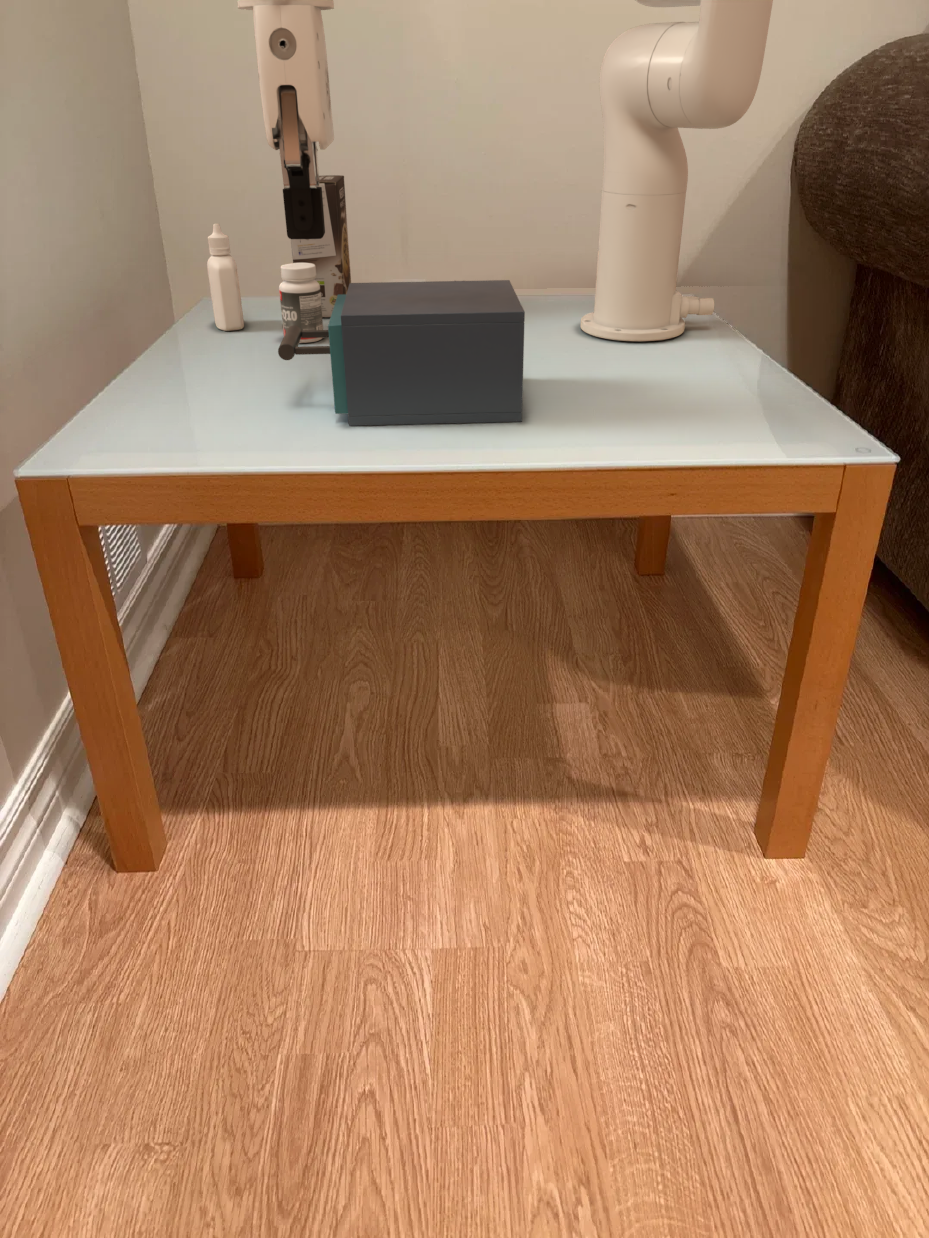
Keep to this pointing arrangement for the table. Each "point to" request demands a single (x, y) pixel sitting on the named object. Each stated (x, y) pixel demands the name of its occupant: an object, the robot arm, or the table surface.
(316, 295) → the pill bottle
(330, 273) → the coffee box
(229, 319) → the eye dropper bottle
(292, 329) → the drawer
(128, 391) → the table surface
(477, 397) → the cabinet
